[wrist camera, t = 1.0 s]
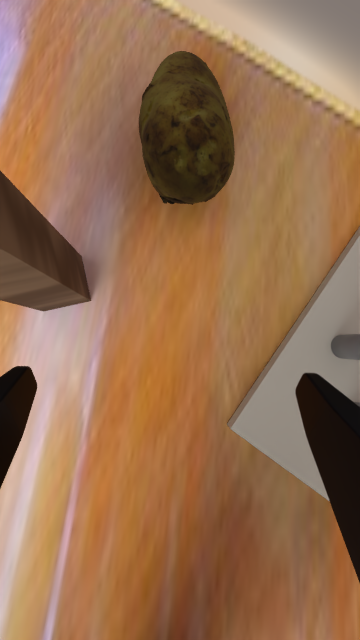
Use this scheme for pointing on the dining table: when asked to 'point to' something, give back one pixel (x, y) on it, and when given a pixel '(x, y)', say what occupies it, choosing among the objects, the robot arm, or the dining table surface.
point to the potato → (186, 131)
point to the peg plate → (307, 370)
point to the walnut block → (36, 257)
